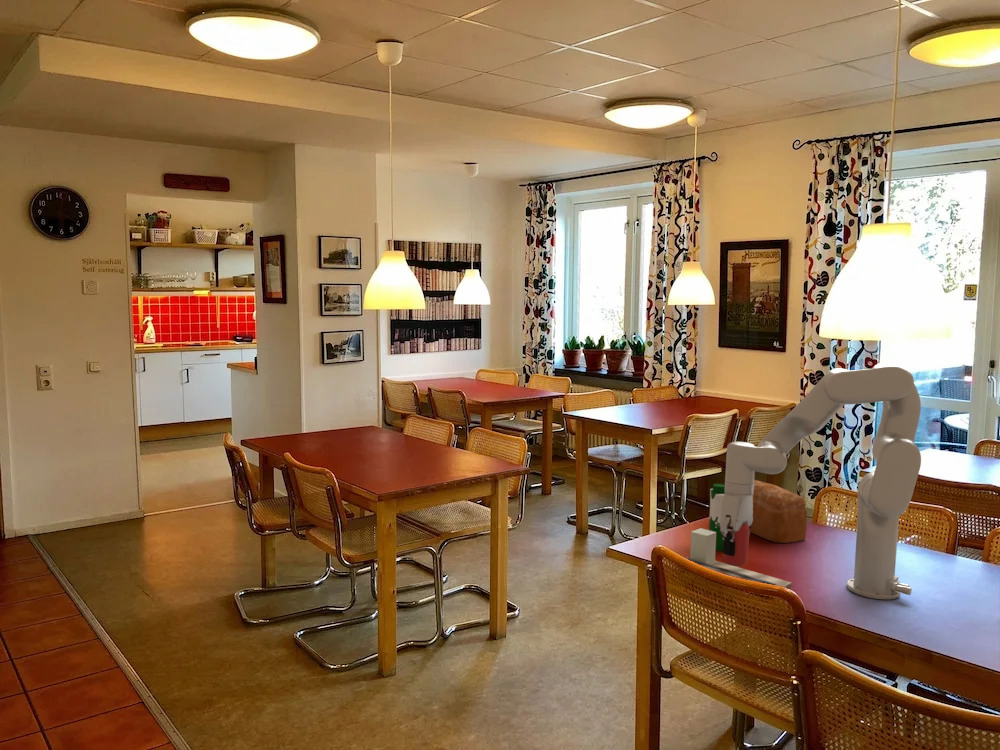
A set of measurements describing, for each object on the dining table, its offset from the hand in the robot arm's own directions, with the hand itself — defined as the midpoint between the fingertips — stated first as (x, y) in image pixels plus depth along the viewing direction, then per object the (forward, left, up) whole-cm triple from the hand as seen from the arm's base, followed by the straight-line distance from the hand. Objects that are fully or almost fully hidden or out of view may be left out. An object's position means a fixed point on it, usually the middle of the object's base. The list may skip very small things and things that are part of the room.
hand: (735, 551), depth 208 cm
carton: (+10, 0, -6) cm, 12 cm away
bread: (+14, -46, -7) cm, 48 cm away
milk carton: (+13, -18, -7) cm, 23 cm away
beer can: (0, 0, -3) cm, 3 cm away
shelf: (0, 0, -7) cm, 7 cm away
